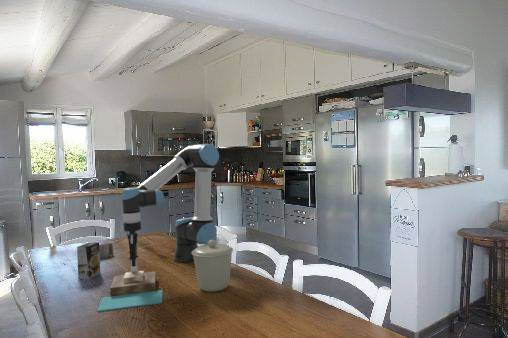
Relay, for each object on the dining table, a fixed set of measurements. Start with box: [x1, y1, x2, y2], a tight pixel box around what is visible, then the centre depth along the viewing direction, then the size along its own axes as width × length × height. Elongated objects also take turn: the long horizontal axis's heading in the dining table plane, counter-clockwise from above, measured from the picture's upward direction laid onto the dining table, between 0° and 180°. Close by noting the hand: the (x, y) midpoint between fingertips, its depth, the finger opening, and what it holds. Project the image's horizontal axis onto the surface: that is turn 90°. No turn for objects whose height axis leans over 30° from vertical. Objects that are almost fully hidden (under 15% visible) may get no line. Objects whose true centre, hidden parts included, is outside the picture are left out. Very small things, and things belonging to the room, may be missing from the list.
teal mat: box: [96, 289, 163, 313], centre depth 143 cm, size 24×13×1 cm, turn 105°
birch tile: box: [123, 270, 145, 283], centre depth 158 cm, size 8×8×2 cm
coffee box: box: [76, 241, 101, 280], centre depth 176 cm, size 9×6×16 cm
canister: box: [192, 239, 234, 293], centre depth 154 cm, size 18×18×21 cm
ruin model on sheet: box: [99, 242, 114, 259], centre depth 210 cm, size 11×3×10 cm, turn 131°
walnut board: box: [109, 271, 157, 297], centre depth 158 cm, size 18×16×4 cm
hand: (134, 272), depth 163 cm, fingers closed
